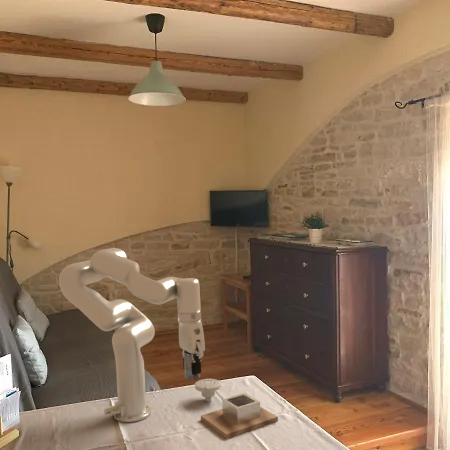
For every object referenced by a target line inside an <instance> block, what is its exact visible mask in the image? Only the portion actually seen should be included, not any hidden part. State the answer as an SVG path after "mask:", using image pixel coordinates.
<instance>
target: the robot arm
mask: <svg viewBox="0 0 450 450" xmlns="http://www.w3.org/2000/svg"><path fill="white" fill-rule="evenodd" d="M106 278H108V279H110V280H113V281H115V282H117V283H119V284H122V285H124V286H126V288H127V290H128V291H129V292H130V293H131V294H132V295H133V296H134V297H137V298H139V299H141V300H143V301H144V302H145V301H146V302H148V303H150V304H154V305H163V304H165V303H167V302H170V301H172V300H175V299H176V304H177V321H178V322H177V323H178V343H179V348H180V349H181V353H182V354H181V356H182V359H183V360H182V362H183V365H182V366H183V370H184V371H185V368H184V352H186V351H187V352H189V353H191V357H192V362H191V368H192V375H195V374H199V373H200V374H202V358H203V357H204V356H205V355H204V354H205V353H204V352H205V350H206V343H205V335H204V334H205V333H204V328H203V323H202V311H201V309H202V306H201V290H200V289H201V287H200V285H201V284H200V282H199V279H198V278H195V277H187V278H181V277H176V276H167V277H163V278H161V279H158V280H154V279H152V278H149V277H147V276H145V275H144V274H142V273H140V265H139V264H138V262H136V261H133V260H131V259H128V256H127V254H126V252H125V251H124V250H123V249H120V248H118V247H111V248H106V249H105V248H104V249H101V250H98V251H96V252H94V254H93V255H92V256H91V258H90V259H89V260H84V261H79V262H74V263H72V264H68V265H66V266H65V267H63V268H62V270H61V271H60V273H59V275H58V284H59V285H58V286H59V288H60V291H61V294H62V295H63V296H64V298H65V299H66V300H67V301H68V302H69V303H71V304H72V305H74V306H75V307H76V309H78V310H79V311H80V312H82V313H83V314H84V315H85V316H86V317H87V318H88V320H90V321H91V322H92V323H93V324H94V325H95V326H96V327H97V328H99V329H100V330H101V331H104V332H109V331H110V332H111V331H113V330H115V329H116V330H115V331H114V332H113V335H112V338H111V343H112V349H113V354H114V360H115V371H116V373H115V374H116V391H117V401H115V402H114V403H115V404H114V405H113V406H112V407H107V408H104V409H103V414H104V415H106V416H107V415H110V416H111V417H112V416H113V417H114V419H115V420H116V421H119V422H122V423H134V422H139V421H142V420H145V419H146V418H148V417H149V416H150V415H151V412H152V410H151V409H152V408H151V406H149V405H147V398H146V397H147V396H146V374H145V371H146V370H145V361H144V356H143V354H142V352H141V348H142V347H144V346H145V345H148V344H149V343H150V342H151V341H152V340H153V339H154V337H155V334H156V332H155V331H156V330H155V326H154V324H153V323H152V321H151V320H150V319H149V318H148V317H147V316H146V315H145V314H144V313H142V312H141V311H140V310H139V309H138V308H137V307H135V305H133V304H132V303H131V302H130V301H128V300H125V299H120V298H118V299H114V300H111V301H110V300H107V299H106V298H105V297H103V296H102V295H101V294H100V293H99V292H98V291H96V290H95V289H92V288H90V287H88V285H91V284H95V283H97V282H99V281H102V280H104V279H106ZM194 350H195V351H197V352H194ZM194 354H197V355H196V357H195V356H194Z"/></svg>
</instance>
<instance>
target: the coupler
mask: <svg viewBox="0 0 450 450" xmlns="http://www.w3.org/2000/svg"><path fill="white" fill-rule="evenodd" d="M194 352H197V350H194ZM196 355H197V354H194V356H195V357H196ZM191 362H192V357H191V353H189V352H187V351H186V352H184V367H183V369H184V368H185V370H184V379H186V380H190V381H191V380H192V381H193V380H197V379H200V378H201V373H199V374H195V375H192V368H191Z"/></svg>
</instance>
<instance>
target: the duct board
mask: <svg viewBox="0 0 450 450" xmlns="http://www.w3.org/2000/svg"><path fill="white" fill-rule="evenodd" d="M221 404H222V406H221V407H222V409H218V410H214V411H211V412H208V413H204V414H202V415H201V414H200V421H202V422H203V423H204V424H206V425H207V426H208V427H209V428H211V429H212V430H214V431H215V432H216V433H217V434H220V435H221V436H222V437H223V438H225V439H226V440H228V439H230V438H234V437H236V436H239V435H242V434H245V433H248V432H252V431H253V430H257V429H259V428H262V427H265V426H268V425H270V424H274V423H276V422H278V421H279V418H278V417H279V416H278V415H275V414H274V413H272V412H271V411H268V410H266V409H265V408H264V407H263V406H261V401H260V400H258V399H257V398H254V397H252V396H250V395H248V394H247V393H246V392H245V393H244V392H243V393H239V394H237V395H233V396H229V397H225V398H223V399H222V400H221Z"/></svg>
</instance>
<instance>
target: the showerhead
mask: <svg viewBox="0 0 450 450" xmlns="http://www.w3.org/2000/svg"><path fill="white" fill-rule="evenodd" d="M221 384H222V383H221V381H220V380H218V379H216V378H215V379H214V378H210V377H209V378H204V379H200V380H198V381H196V382H195V383H194V388H195V390H196V391H199V392H200V393H201V397H203V398H204V399H205V401H206V402H212V398H213V397H214V396H215V395H216V392H217V391H218V390H220V389H221V387H222V385H221Z"/></svg>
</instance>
